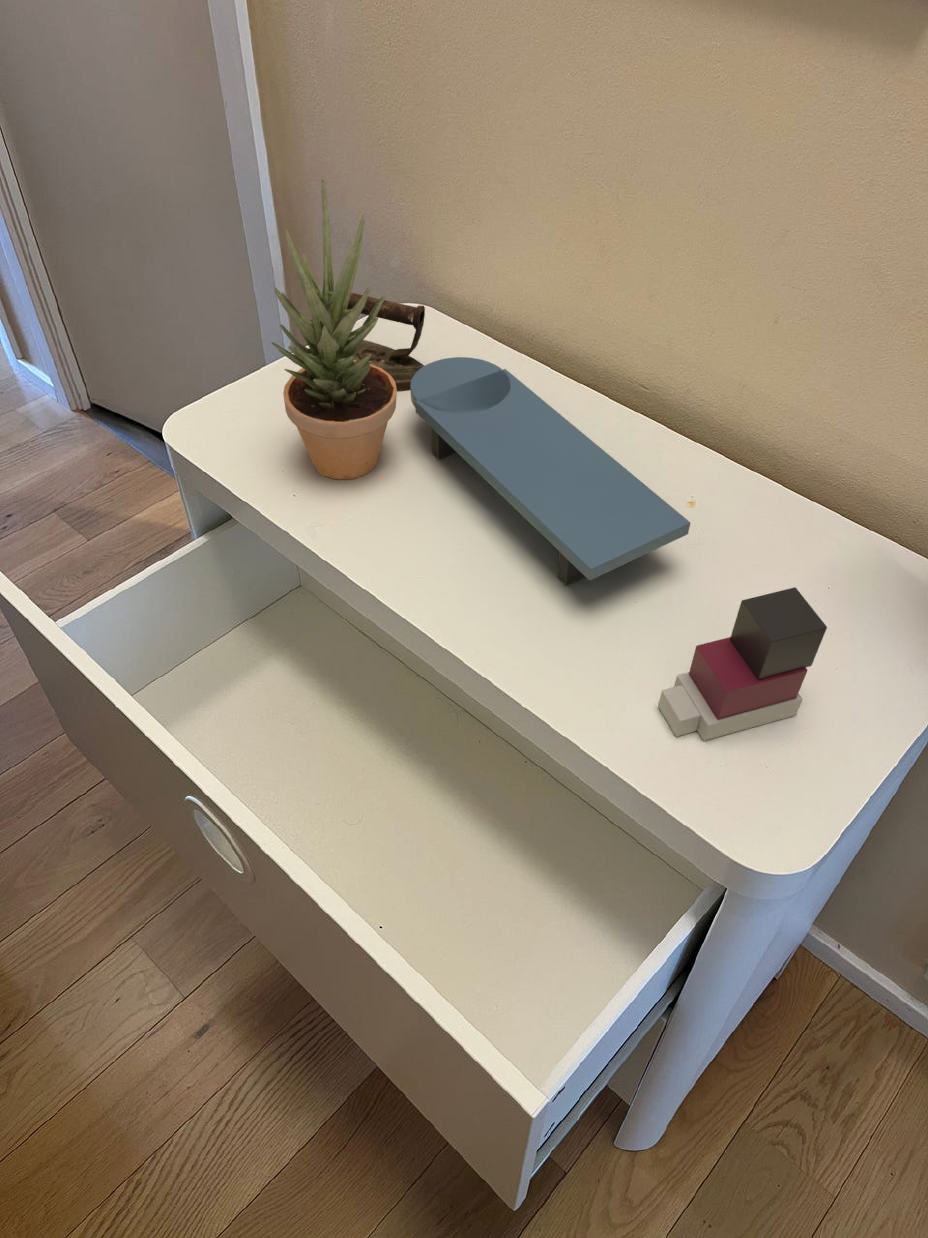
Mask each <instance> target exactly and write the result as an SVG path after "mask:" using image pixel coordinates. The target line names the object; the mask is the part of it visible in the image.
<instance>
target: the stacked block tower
mask: <svg viewBox="0 0 928 1238" xmlns="http://www.w3.org/2000/svg"><path fill="white" fill-rule="evenodd" d="M827 630H828V626H827V625H826V624H825V622H824V621H823V620H822V618H821V617H820V616H819V615H818V613H816V611H815V610H814V608H813V607H812V606H811V605H810V603H809V602H808V601H807V600H806V598H805V597H804V596H803V595H802V594H801V592H800V591H799V590H798V588H797V587H790V588H787V589H782V590H778V591H774V592H771V593H767V594H762V595H759V596H758V595H757V596H755V597H750V598H745V599H742V600H741V602H740V604H739V608H738V611H737V615H736V617H735V621H734V625H733V628H732V631H731V634H730V636H729V637H725V638H721V639H717V640H712V641H709V642H705V643H702V644H697V645H696V646H695V648H694V653H693V656H692V660H691V664H690V667H689V671H687V672H684V673H680V674H677V675H676V677H675V682H674V686H673V687H670V688H665V689H662V690H661V692H660V697H659V699H658V700H659V701H658V705H657V706H658V708H659V710H660V712H661V714H662V716H663V717H664V719H665V721H666V722H667V724H668V726H669V727H670V730H671V731H672V733H673V734H674V736H675V737H680V736H684V735H688V734H691V733H695V732H697V733H698V735H699V737H700V738H701V740H702V741H703V742H705V741H709V740H712V739H715V738H719V737H723V736H726V735H730V734H734V733H737V732H741V731H745V730H748V729H751V728H755V727H759V726H762V725H767V724H771V723H773V722H777V721H780V720H785V719H787V718H791V717H795V716H797V714H798V711H799V709H800V707H801V705H802V702H803V697H802V696H801V695H800V694H799V693H800V690H801V688H802V685H803V683H804V680H805V678H806V675H807V673H808V670H809V669H808V668H810V667H812V666H813V664H814V661H815V658H816V656H817V653H818V652H819V648H820V646H821V643H822V642H823V639H824V637H825V634H826V632H827Z"/></svg>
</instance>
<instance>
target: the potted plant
mask: <svg viewBox="0 0 928 1238" xmlns="http://www.w3.org/2000/svg"><path fill="white" fill-rule="evenodd" d="M326 186H327V185H326V180H325V174H324V173H321V185H320V187H321V189H320V190H321V229H322V231H321V232H322V252H323V253H322V258H323V280H322V281H323V283H322V284H323V285H322V291H321V290H320V288H319V286H318V284H317V282H316V280H315V278H314V275H313V273H312V271H311V270H312V269H311V267H310V265H309V261H308V258H307V255H306V254H302V259H301V257H300V256H301V255H300V254H299V251H298V249H297V247H296V245H295V243H294V242H293V240H292V238H291V236H290V233H289V230H287V229H284V232H285V238H286V239H285V240H286V244H287V248H288V251H289V254H290V257H291V261H292V263H293V266H294V269H295V272H296V276H297V278H298V281H299V284H300V286H301V289H302V291H303V294H304V296H305V299H306V304H307V307H308V310H309V314H310V317H311V319H309V318H307V317H305V316H303V315H302V314H301V313H300V312H299V310H298V309H297V308H296V307H295V306H294V304H293V303H292V302H291V300H289V299H288V297H287V296H286V294H285V293H284V292H282V291H281V292H280V291H279V289H278V288H277V287H276V286H274V287H273V291H274V294H275V296H276V297H277V299H278V301H279V303H280V304H281V307H282V308H283V309H284V311H285V312H286V314H287V315H288V317H289V319H290V320H291V321H292V323H293V324H294V325H295V327H296V328H297V330H298V331H299V332H300V335H301V336H302V338H303V339H304V341H305V343H306V345H307V346H308V347H306V346H305V345H303V344H302V343H301V342H300V341H298V340H297V339H296V338H295V337H294V336H293V334H292V333H291V332H290V331H289V330H288V329H287V328H286V327H285V325H283V324H280V325H279V327H280V328H281V330H282V331H283V333H284V334H285V335H286V336H287V338H288V339H289V340H290V341H291V342H292V343H293V344H294V346H295V347H294V346H291V345H288V346H287V348H288V350H287V349H286V348H284V347H282V346H280V345H279V344H277V343H275V342H274V341H272V342H271V345H273V347H275V348H276V349H277V350H278V352H280V353H281V354H282V355H284V356H285V357H286V358H287V359H288V360H289V361H291V362H292V363H294V364H295V365H297V366H299V367H300V369H299V370H297V371H295V370H291V369H288V368H284V371H285V372H287V373H289V374H290V375H291V376H290V377H289V379H288V381H287V382H286V383H285V384H284V386H283V395H282V396H283V401H284V409H285V413H286V415H287V417H288V419H289V420H290V422H291V423H292V424H293V425H294V426H295V427H296V428H297V430H298V433H299V435H300V437H301V439H302V441H303V442H302V443H303V444H304V446H305V448H306V450H307V452H308V455H309V457H310V459H311V462H312V464H313V466H314V468H315V470H316V471H317V473H319V474H320V475H321V476H323V477H327V478H330V479H333V480H355V479H358V478H361V477H363V476H365V475H366V474H368V473H369V472H371V471H372V470H373V469H374V468H375V467H376V466H377V464H378V461H379V458H380V454H381V450H382V445H383V442H384V438H385V435H386V431H387V426H388V423H389V420H390V419H392V417H393V415H394V413H395V412H396V409H397V397H398V390H397V389H396V384H395V381H394V380H393V378H392V377H391V375H390V374H388V373H387V372H386V371H384V370H383V369H382V368H380V367H377V366H375V365H372V364H371V363H372V361H368V360H369V358H370V356H371V354H368V355H367V356H366V357H364V358H363V359H361V360H359V361H357V360H354V358H355V355H356V353H357V351H358V348H359V346H360V344H361V342H362V340H365V338H366V337H367V336H368V335H369V334H371V332H372V330H373V329H374V328H375V326H376V324H377V323H378V320H379V318H378V317H376V316H377V314H378V312H379V310H380V308H381V306H382V304H383V301H384V300H385V299H386V298H385V297H386V296H385V294H383V295H382V296H381V298H379V299H380V300H379V301H378V302H377V304H376V305H375V307H374V308H373V309H372V311H371V312H370V314H369V315H367V318H365V321H363V323H362V325H361V326H360V327H358V328H356V329H354V327H355V325H356V323H357V321H358V319H359V318H360V316H361V315H362V314H361V312H362V310H363V308H364V306H365V303H366V301H367V297H368V296H369V294H370V290H371V287H370V286H368V287H367V288H366V290H365V291H364V293H363V294H362V295H363V296H362V297H361V299H360V300H359V301H358V302H357V304H356V305H355V306H354V307H353V308H352V309H348V310H346V309H347V306H348V302H349V299H350V295H351V292H352V290H353V287H354V283H355V279H356V274H357V269H358V265H359V261H360V256H361V251H362V245H363V237H364V228H365V218H364V215H361V217H360V219H359V223H358V227H357V229H356V230H355V234H354V236H353V239H352V243H351V245H350V248H349V250H348V252H347V256H346V257H345V260H344V263H343V266H342V269H341V271H340V275H339V277H338V280H337V282H336V284H335V286H334V283H335V282H334V273H333V258H332V237H331V228H330V227H331V226H330V212H329V206H328V205H329V203H328V193H327V187H326ZM353 329H354V330H353Z"/></svg>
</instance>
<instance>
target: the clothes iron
mask: <svg viewBox="0 0 928 1238" xmlns="http://www.w3.org/2000/svg"><path fill="white" fill-rule="evenodd" d="M362 296H363V294H359V293H355V292H352V291H351V295H350V299H349V302H348V306H347V309H346V310H348V309H352V308H353V307H354V306H355V305H356V304H357V302H358V301H359V300H360V299H361V297H362ZM380 299H381V298H377V297H373V296H369V295H368V297H367V301H366V303H365V306H364V308H363V310H362V312H361V314H360V315H365V316H369V314H370V312H371V311H372V309H373V308H374V307H375V305H376V304H377V302H378V301H379V300H380ZM425 308H426V306H424V305H417V306H412V305H407V304H403V303H399V302H394V301H391V300H385V299H384V301H383V304H382V306H381V308H380V310H379V312H378V314H377V316H376V318H377V317H378V319H383V320H387V321H390V322H396V323H399V324H404V325H407V326H413V328H414V330H415V331H414V335H413V337H412V338H413V339H412V341H411V346H410V347H409V348H397V349H395V348H392V347H389V346H386V345H383V344H380V343H376V342H373V341H370V340H366V339H363V340H362V342H361V344H360V346H359V348H358V351H357V353H356V355H355V358H354V360H357V361H359V360H361V359H363V358H364V357H366V356H367V355H368V354H371V356H370V358H369V360H368V361H372V363H371V364H372V365H375V366H377V367H380V368H382V369H383V370H384V371H386V372H387V373H388V374H390V375H391V377H392V378H393V380H394V381H395V384H396V389H397V391H407V390H410V384H411V380H412V378H413V376H414V375H415V373H416V372H417V371H418V370H419V369H421V368H422V367H424V366H425V365H424V364H423V363H421V362H420V361H419V360H417V359H416V358H414V357H412V356H411V354H412V352H414V350H415V349H416V348H417V346H418V344H419V341H420V339H421V336H422V331H423V327H424V324H425V315H426V309H425Z"/></svg>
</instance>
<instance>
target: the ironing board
mask: <svg viewBox="0 0 928 1238" xmlns="http://www.w3.org/2000/svg"><path fill="white" fill-rule="evenodd" d="M409 390H410V391H409V392H410V401H411V404H412V405H413V407H414V409H415V410H414V411H415V413H416V415H417V416H418V417H420V418H421V419H422V420H423V421H424V422H425V423H426V424H427V425H428V426H429V427H430V428H431V429H430V430H431V453H432V454H433V455H434V456H435V458H437V459H438V460H442V459H444V458H447V457H450V456H452V455H454V454H458V455H459V456H460V457H461V458H462V459H463V460H464V461H465V462H466V463H467V464H468V465H469V466H470V467H471V468H472V469H473V470H475V472H476V473H478V474H479V476H480V477H482V478H483V479H484V480H485V481H486V482H487V483H488V484H489V485H490V486H491V487H492V488H493V489H494V490H495V491H496V492H497V493H498V494H499V495H500V496H502V498H503V499H504V500H506V502H507V503H508V504H509V505H510V506H512V507H513V508H514V509H515V510H516V511H517V512H518V513H519V514H520V515H521V516H522V517H523V518H524V519H525V520H526V521H527V522H528V523H529V524H530V525H531V526H532V527H533V528H534V529H535V530H536V531H538V533H540V534H541V536H543V537H544V538H545V539H546V540H547V541H548V542H549V543H550V544H551V545H552V546H553V547H554V548H555V549H556V550H557V551H558V552H559V554H558V555H559V556H558V564H557V575H556V577H557V579H558V580H559V581H560V582H561V583H563V585H564V586H569V585H571V584H573V583H575V582H577V581H579V580H582V579H584V578H586V579H587V580H588V581H593V580H595V579H597V578H598V577H601V576H602V575H605V574H607V573H609V572H611V571H614V570H615V569H617V568H620V567H621V566H624V565H626V564H629V563H630V562H632V561H634V560H637V559H638V558H641V557H643V556H645V555H647V554H650V553H651V552H653V551H655V550H657V549H660V548H662V547H664V546H666V545H668V544H671V543H673V542H674V541H677V540H679V539H681V538H683V537H685V536H687V535H689V531H690V527H691V521H689V520H688V519H687V518H686V517H685V516H683V514H681V513H679V512H678V511H677V510H676V509H675V508H674V507H672V506H671V505H670V504H669V503H667V502H666V501H665V499H663V498H662V497H661V496H659V495H658V494H657V493H656V492H654V491H653V490H652V489H651V488H650V487H648V486H647V485H646V484H645V483H643V481H641V480H640V479H639V478H638V477H637V476H636V475H634V474H633V473H631V472H630V471H629V469H627V468H626V467H624V466H623V465H622V464H621V463H619V462H618V461H617V460H616V459H614V457H613V456H611V455H610V454H609V453H607V452H606V451H605V450H604V449H602V447H600V446H599V445H598V444H597V443H595V441H593V440H592V439H591V438H589V436H587V435H586V434H585V433H583V432H582V431H581V430H579V429H578V428H577V427H576V426H575V424H573V423H572V422H570V421H569V420H568V419H567V418H565V417H564V416H563V415H562V414H560V413H559V412H558V411H557V410H556V409H554V408H553V407H552V406H551V405H549V404H548V403H547V402H546V401H545V400H543V399H542V398H541V397H540V396H538V394H536V393H535V392H534V391H533V390H531V389H530V388H529V387H528V386H527V385H525V384H524V383H523V382H522V381H521V380H519V379H518V378H517V377H516V376H515V375H513V374H512V373H511V372H510V371H509V370H508V369H506V368H502V367H500V366H499V365H496V364H495V363H492V362H490V361H487V360H485V359H481V358H476V357H468V356H466V357H465V356H456V357H455V356H454V357H447V358H441V359H438V360H434V361H432V362H429V363H428V364H426V365H424V367H422V368H421V369H419V370H418V371H417V372H416V373H415V375H414V376H413V378H412V380H411V384H410V389H409Z"/></svg>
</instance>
